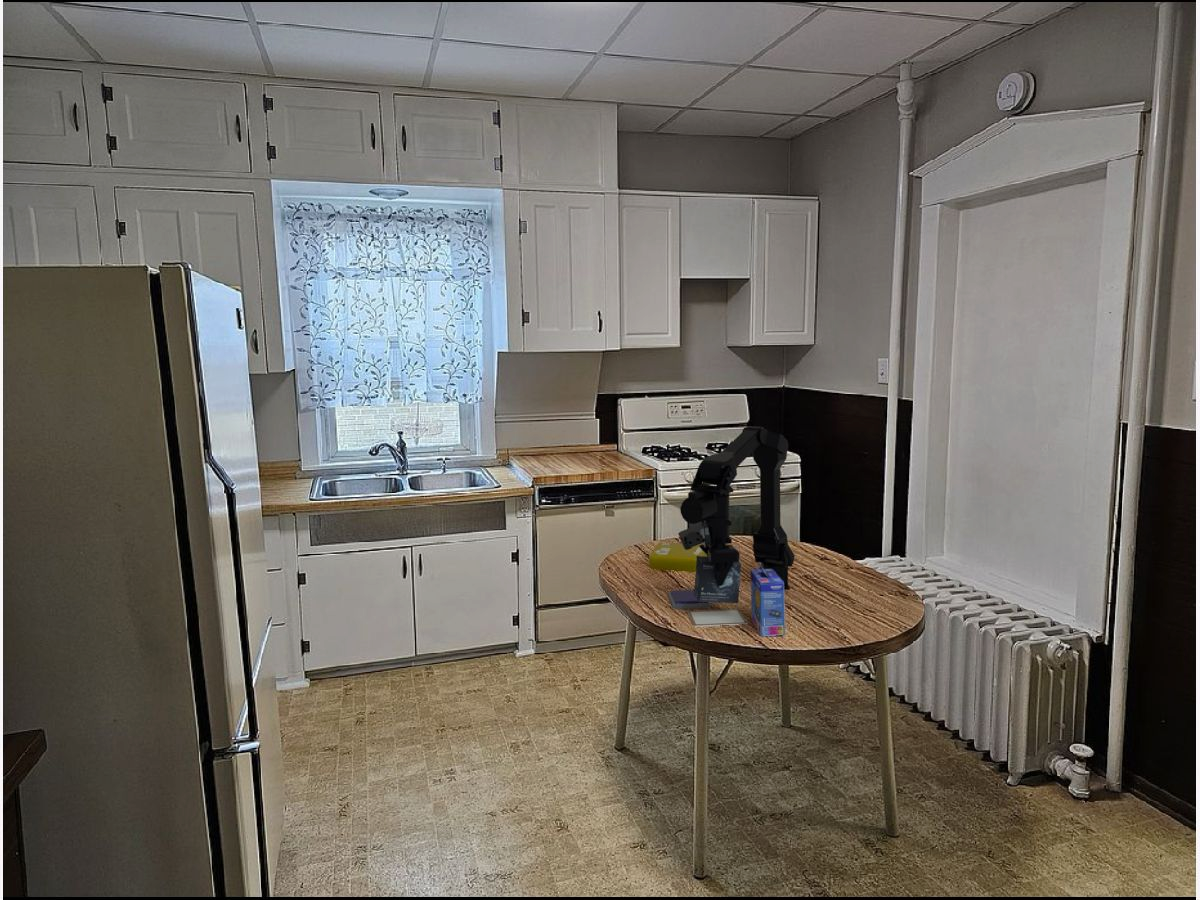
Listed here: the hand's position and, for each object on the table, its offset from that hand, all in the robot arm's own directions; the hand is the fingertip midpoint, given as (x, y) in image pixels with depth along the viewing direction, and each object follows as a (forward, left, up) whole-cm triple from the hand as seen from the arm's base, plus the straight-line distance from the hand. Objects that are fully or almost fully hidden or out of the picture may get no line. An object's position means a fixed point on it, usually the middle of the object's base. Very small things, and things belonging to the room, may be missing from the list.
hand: (717, 581), depth 172 cm
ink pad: (+5, -11, -9) cm, 15 cm away
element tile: (+2, -43, -9) cm, 45 cm away
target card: (0, 0, -9) cm, 9 cm away
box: (0, 0, -5) cm, 5 cm away
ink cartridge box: (-10, +7, -9) cm, 15 cm away
